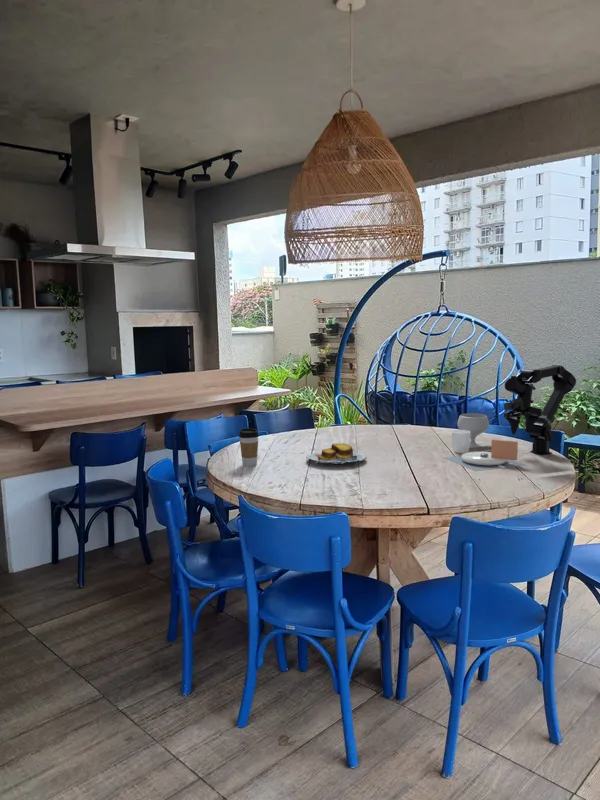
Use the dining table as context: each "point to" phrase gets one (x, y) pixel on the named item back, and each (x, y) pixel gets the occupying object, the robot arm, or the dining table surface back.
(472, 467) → the board
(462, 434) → the white cup
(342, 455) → the food on plate
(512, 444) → the dial
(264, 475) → the dining table surface
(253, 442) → the coffee cup
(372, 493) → the dining table surface
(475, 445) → the chalice
